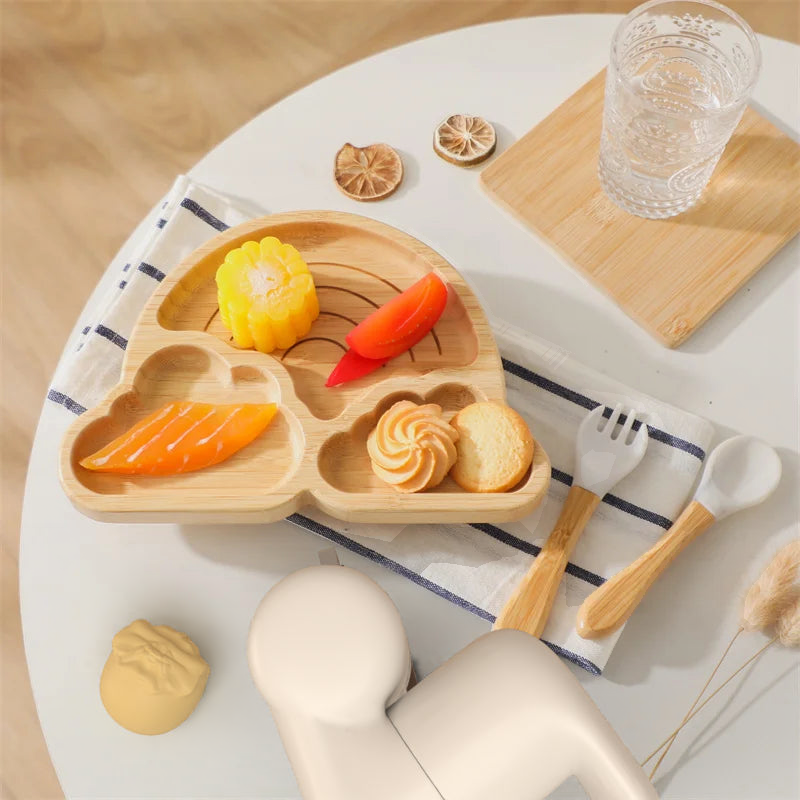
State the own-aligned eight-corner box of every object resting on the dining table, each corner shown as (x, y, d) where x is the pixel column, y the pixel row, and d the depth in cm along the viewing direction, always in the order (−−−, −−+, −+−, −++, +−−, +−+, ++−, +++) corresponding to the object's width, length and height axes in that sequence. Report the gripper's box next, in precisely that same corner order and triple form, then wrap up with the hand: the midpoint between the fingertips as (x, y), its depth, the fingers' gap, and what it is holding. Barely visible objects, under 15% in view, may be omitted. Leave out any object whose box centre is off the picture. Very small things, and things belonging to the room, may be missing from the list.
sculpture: (233, 663, 109) (213, 655, 99) (173, 754, 106) (145, 755, 96) (158, 612, 111) (131, 599, 101) (97, 699, 108) (62, 695, 98)
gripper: (451, 798, 50) (447, 783, 66) (368, 504, 56) (383, 555, 72) (320, 839, 49) (347, 814, 66) (250, 538, 55) (291, 582, 71)
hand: (366, 679), depth 69 cm, fingers open, 9 cm apart
